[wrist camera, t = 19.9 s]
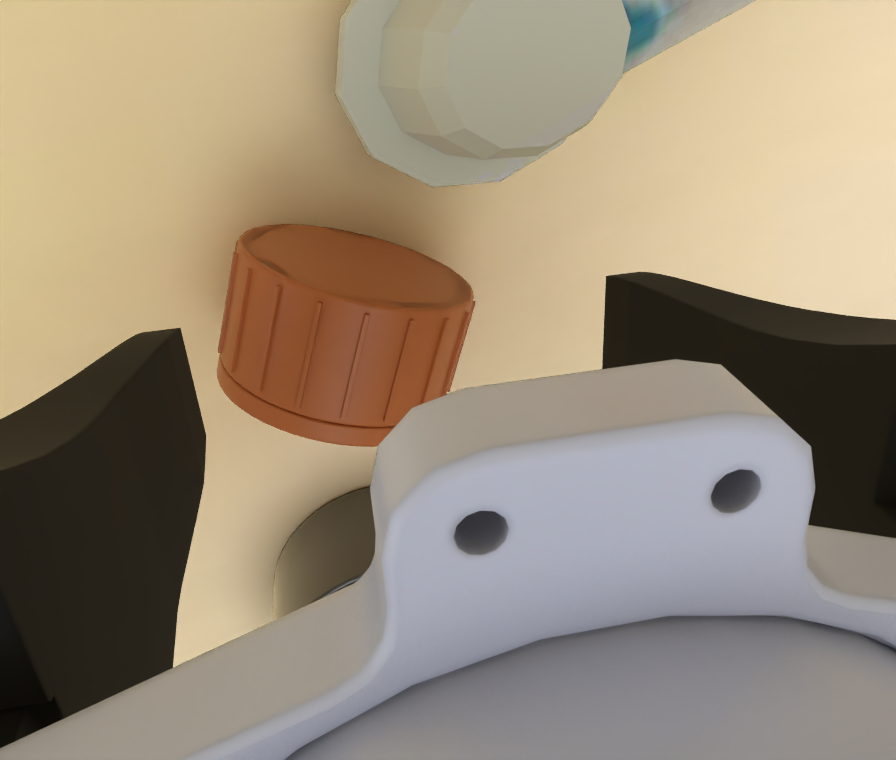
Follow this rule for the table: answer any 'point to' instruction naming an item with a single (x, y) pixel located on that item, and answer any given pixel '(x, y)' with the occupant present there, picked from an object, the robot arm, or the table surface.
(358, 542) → the grey round holder
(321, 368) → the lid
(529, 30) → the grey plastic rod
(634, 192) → the table surface
